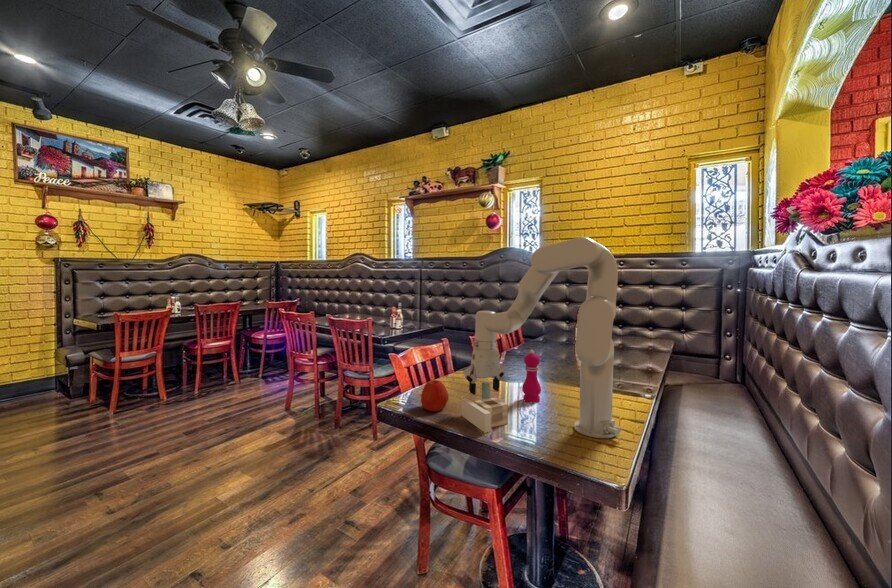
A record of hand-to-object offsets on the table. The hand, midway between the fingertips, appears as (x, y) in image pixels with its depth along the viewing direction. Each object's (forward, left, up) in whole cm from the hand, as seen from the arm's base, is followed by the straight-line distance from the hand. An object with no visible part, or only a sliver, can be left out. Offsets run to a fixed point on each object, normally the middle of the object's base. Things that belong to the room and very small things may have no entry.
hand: (484, 391), depth 135 cm
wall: (-9, +9, -7) cm, 15 cm away
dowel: (0, 0, -7) cm, 7 cm away
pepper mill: (+2, -22, -7) cm, 23 cm away
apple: (+10, +16, -7) cm, 20 cm away
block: (-10, +4, -7) cm, 13 cm away
